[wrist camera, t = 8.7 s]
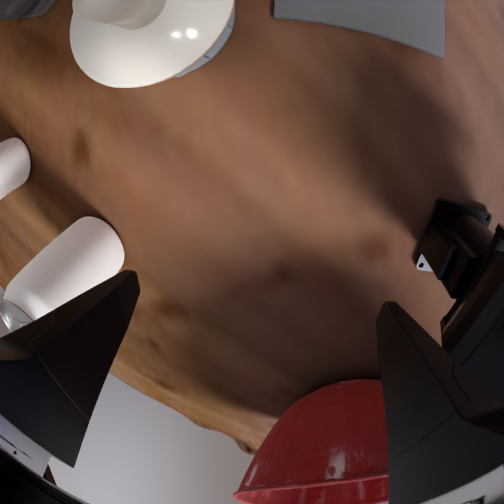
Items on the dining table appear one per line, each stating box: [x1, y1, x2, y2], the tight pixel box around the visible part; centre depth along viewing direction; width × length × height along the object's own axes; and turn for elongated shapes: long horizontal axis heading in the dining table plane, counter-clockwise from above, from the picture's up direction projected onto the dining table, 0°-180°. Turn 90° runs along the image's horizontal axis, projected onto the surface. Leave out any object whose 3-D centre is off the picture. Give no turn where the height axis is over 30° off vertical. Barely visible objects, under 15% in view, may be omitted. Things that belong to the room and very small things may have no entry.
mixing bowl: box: [233, 379, 389, 504], centre depth 28 cm, size 28×28×16 cm
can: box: [0, 216, 124, 332], centre depth 19 cm, size 6×6×12 cm
